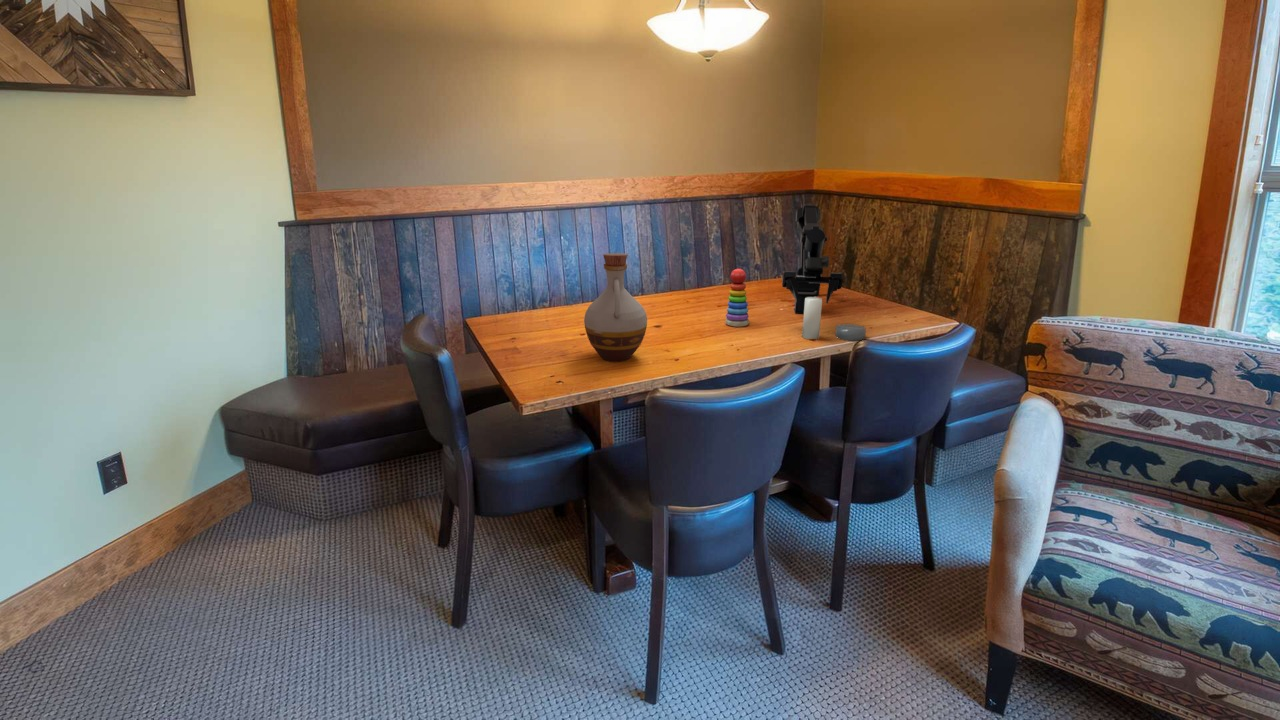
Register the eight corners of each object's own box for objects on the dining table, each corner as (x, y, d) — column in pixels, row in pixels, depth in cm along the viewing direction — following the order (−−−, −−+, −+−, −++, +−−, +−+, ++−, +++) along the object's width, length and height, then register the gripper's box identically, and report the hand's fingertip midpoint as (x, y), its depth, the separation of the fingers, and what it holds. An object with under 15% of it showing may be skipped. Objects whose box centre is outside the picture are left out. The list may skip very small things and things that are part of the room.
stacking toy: (751, 322, 245) (753, 267, 240) (746, 328, 238) (749, 272, 232) (728, 320, 248) (730, 266, 242) (722, 326, 241) (725, 270, 235)
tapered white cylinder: (802, 339, 226) (805, 300, 222) (801, 334, 231) (804, 296, 227) (819, 340, 226) (823, 300, 222) (817, 335, 231) (821, 297, 227)
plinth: (837, 340, 225) (838, 331, 224) (833, 332, 234) (834, 323, 233) (867, 341, 224) (868, 332, 223) (862, 333, 233) (862, 324, 232)
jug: (650, 368, 198) (651, 260, 189) (585, 370, 197) (583, 260, 188) (644, 347, 217) (644, 247, 208) (584, 348, 216) (582, 248, 206)
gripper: (785, 246, 230) (784, 287, 223) (845, 247, 227) (846, 289, 220) (782, 266, 240) (781, 306, 232) (840, 268, 237) (841, 308, 230)
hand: (812, 302), depth 228 cm, fingers open, 9 cm apart
